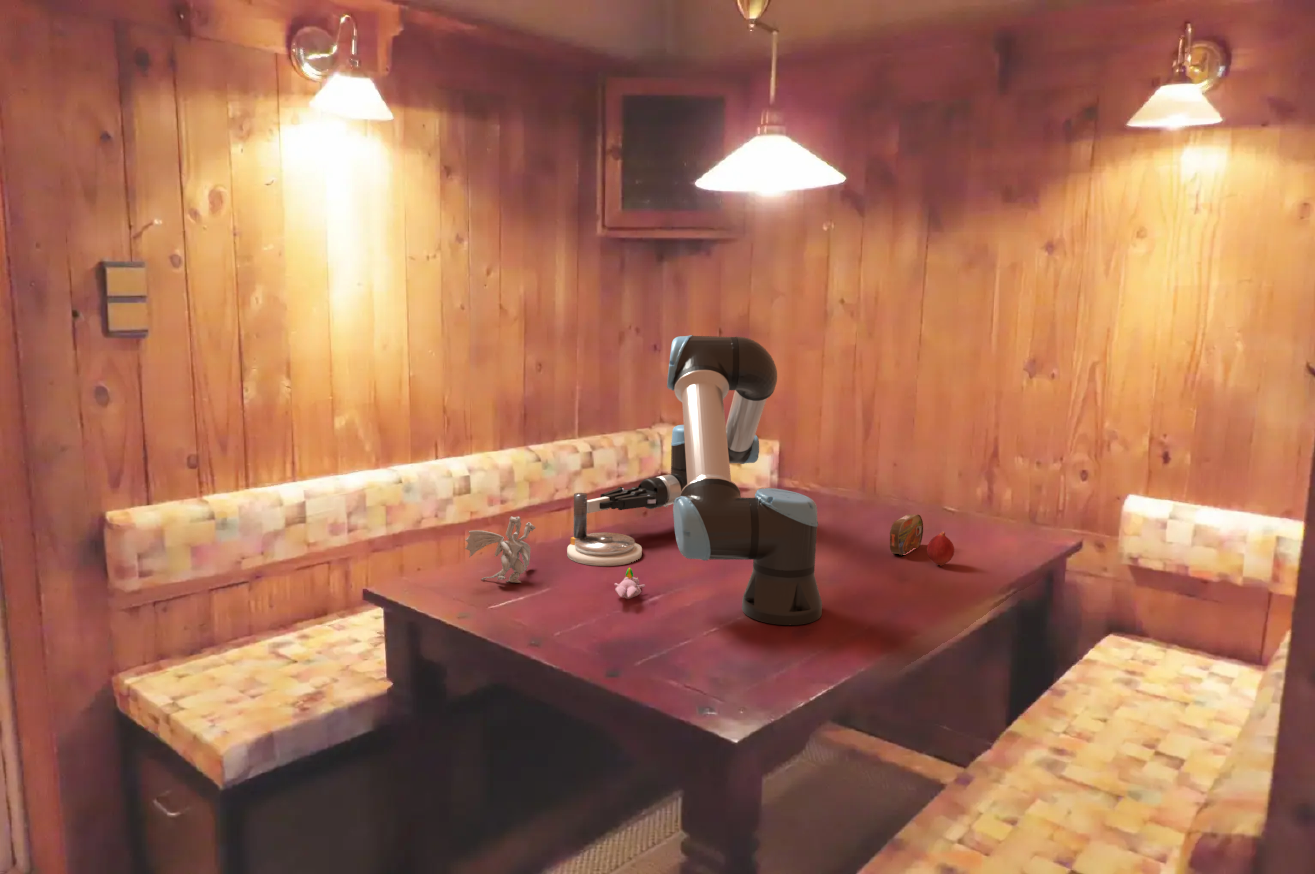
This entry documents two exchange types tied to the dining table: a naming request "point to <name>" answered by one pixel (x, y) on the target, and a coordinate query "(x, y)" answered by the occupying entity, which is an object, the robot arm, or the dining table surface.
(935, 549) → the onion
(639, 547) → the dial base
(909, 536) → the tin
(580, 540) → the dial
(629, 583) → the rabbit figure
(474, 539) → the grey dragon figurine
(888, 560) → the dining table surface
